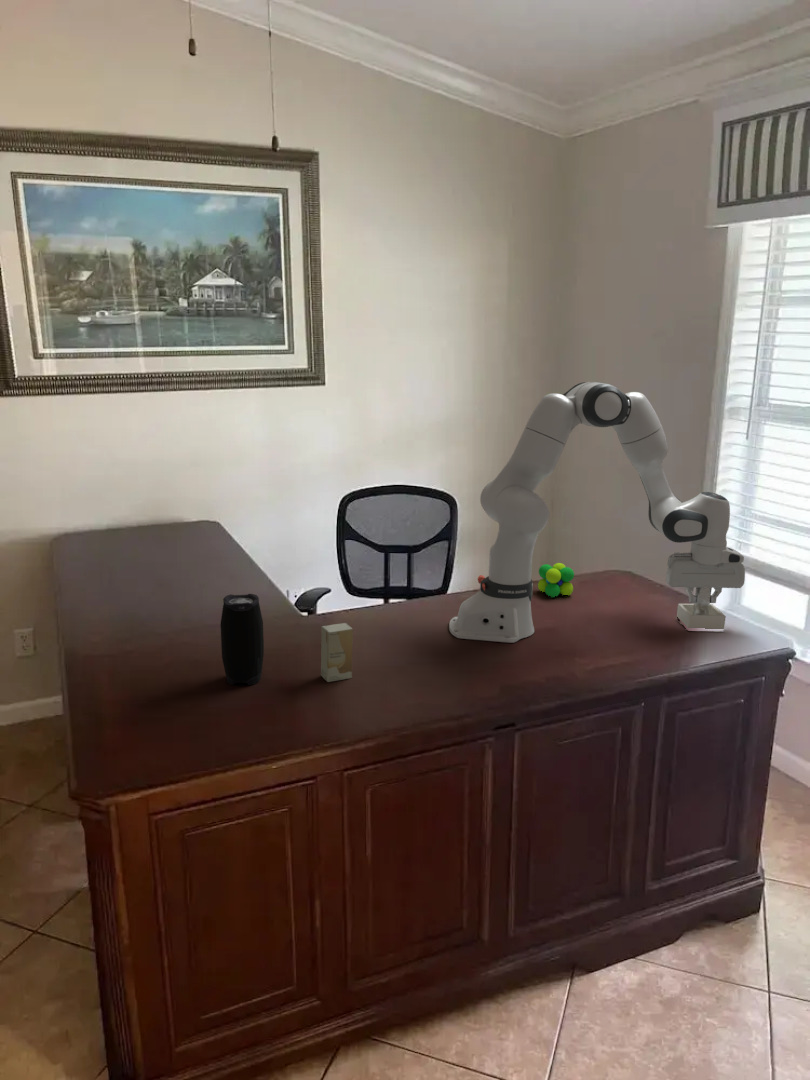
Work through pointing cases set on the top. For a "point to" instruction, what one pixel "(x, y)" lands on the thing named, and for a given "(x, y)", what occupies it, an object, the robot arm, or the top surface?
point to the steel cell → (702, 601)
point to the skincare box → (336, 652)
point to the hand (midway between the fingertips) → (702, 602)
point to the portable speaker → (242, 639)
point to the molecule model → (555, 579)
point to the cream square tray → (701, 617)
